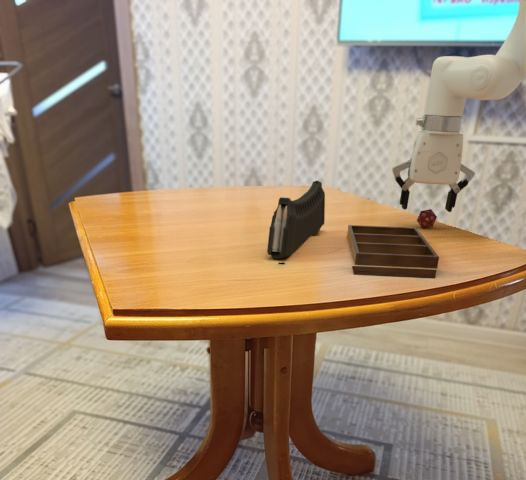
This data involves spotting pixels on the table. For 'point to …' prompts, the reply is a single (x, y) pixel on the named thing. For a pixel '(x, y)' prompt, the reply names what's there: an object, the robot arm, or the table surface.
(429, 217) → the dice
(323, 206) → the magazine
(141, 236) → the table surface
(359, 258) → the rack
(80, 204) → the table surface
